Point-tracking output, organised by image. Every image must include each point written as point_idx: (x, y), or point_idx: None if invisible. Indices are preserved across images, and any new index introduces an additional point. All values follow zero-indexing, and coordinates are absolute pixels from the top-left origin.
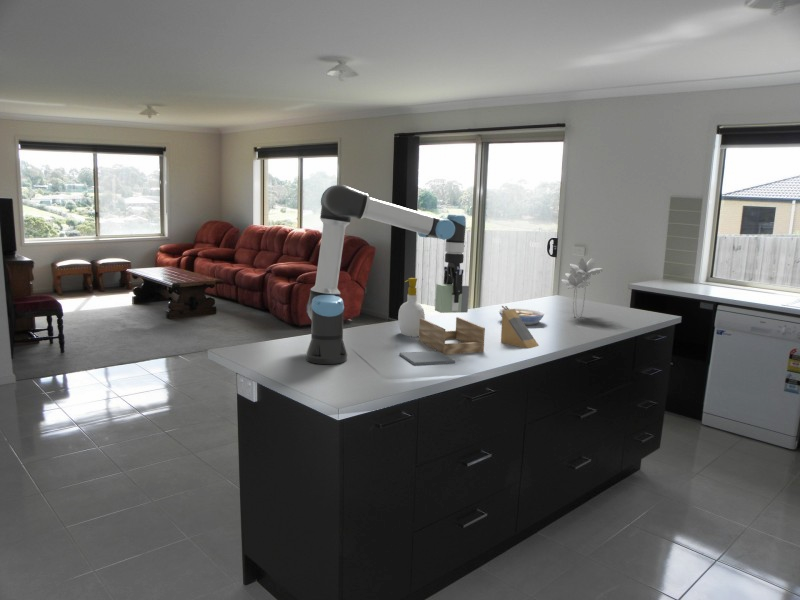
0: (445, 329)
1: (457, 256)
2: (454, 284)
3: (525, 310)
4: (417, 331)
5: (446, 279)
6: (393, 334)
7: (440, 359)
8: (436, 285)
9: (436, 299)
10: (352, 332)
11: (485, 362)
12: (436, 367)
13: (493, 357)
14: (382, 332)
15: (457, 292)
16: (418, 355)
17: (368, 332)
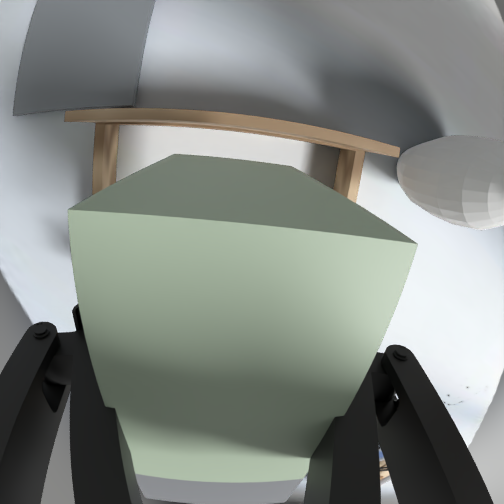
0: (65, 121)
1: None
2: (73, 422)
3: (380, 483)
4: (401, 164)
5: (419, 457)
6: (458, 128)
7: (31, 73)
8: (391, 230)
9: (292, 177)
10: (493, 45)
11: (8, 210)
12: (5, 51)
13: (51, 266)
14: (483, 117)
15: (28, 337)
16: (96, 17)
17: (489, 81)
